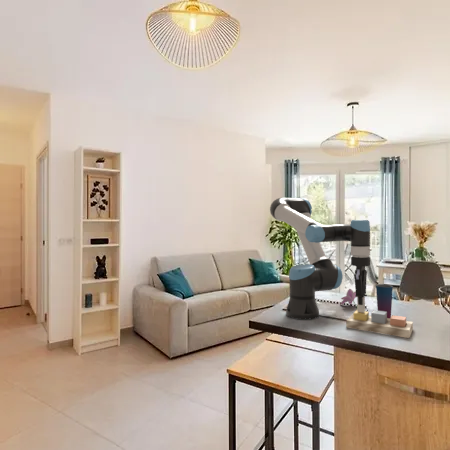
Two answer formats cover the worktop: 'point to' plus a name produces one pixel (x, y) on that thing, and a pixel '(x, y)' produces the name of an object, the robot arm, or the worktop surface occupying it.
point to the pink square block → (398, 321)
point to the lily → (349, 297)
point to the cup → (384, 298)
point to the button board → (380, 327)
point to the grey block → (379, 316)
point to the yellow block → (361, 315)
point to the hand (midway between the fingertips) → (361, 311)
